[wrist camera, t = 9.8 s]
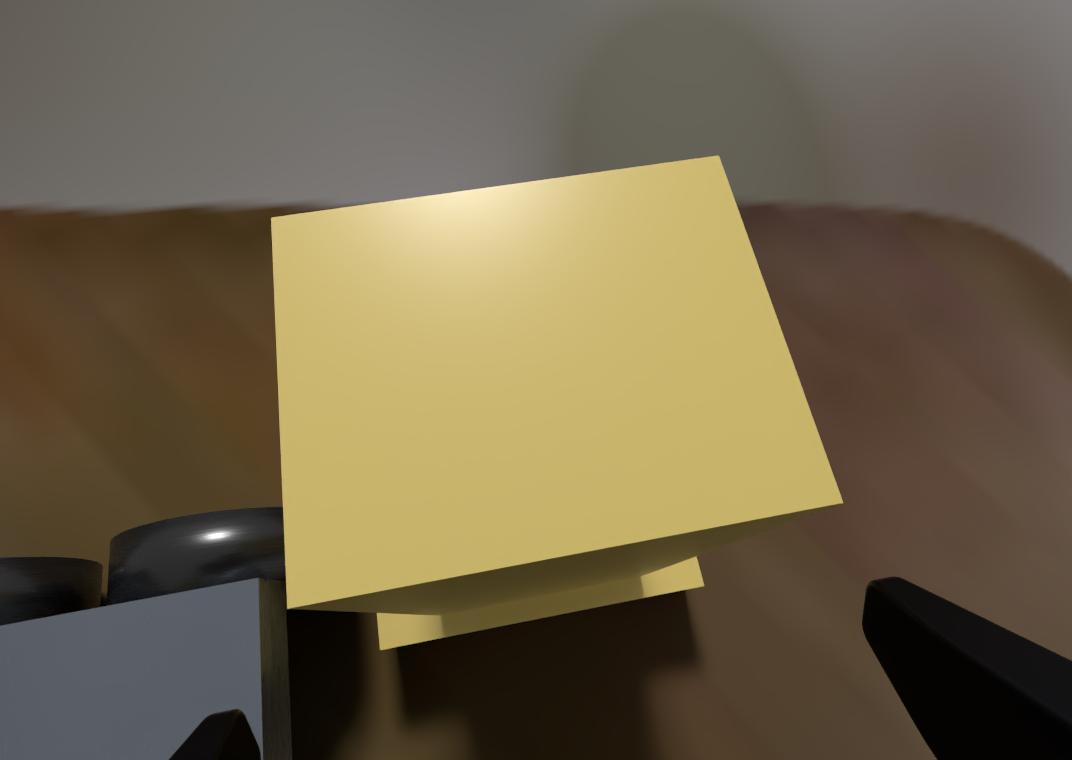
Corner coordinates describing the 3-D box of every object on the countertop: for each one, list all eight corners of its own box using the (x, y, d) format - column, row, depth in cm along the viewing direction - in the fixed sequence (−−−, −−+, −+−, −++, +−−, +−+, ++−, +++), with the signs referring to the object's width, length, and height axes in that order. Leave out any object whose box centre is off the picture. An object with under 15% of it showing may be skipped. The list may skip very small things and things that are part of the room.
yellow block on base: (684, 589, 17) (1017, 527, 6) (396, 646, 17) (99, 710, 5) (641, 420, 19) (827, 105, 7) (378, 465, 18) (127, 199, 7)
